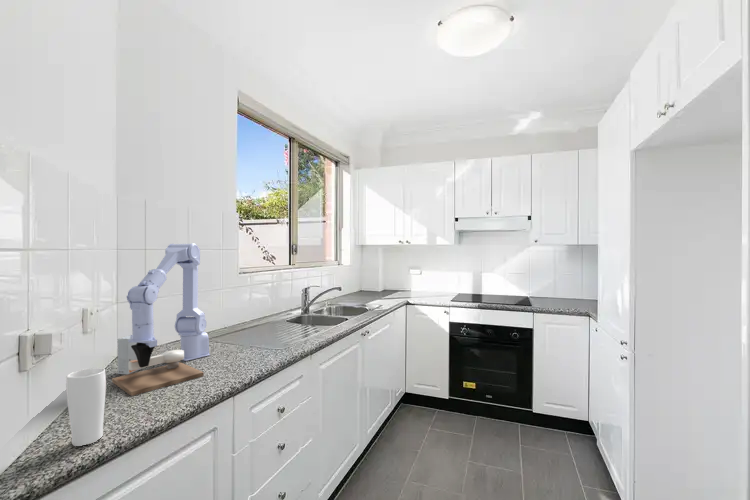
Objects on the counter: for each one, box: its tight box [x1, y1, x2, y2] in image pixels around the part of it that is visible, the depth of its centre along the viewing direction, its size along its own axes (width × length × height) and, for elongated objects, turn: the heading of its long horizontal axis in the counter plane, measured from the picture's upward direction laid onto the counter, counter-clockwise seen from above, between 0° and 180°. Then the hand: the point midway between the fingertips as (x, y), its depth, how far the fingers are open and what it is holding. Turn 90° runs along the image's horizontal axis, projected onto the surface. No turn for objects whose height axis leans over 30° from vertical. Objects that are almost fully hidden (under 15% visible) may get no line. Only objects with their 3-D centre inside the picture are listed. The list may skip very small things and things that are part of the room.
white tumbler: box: [65, 367, 107, 447], centre depth 79 cm, size 7×7×15 cm
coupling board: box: [111, 361, 205, 397], centre depth 118 cm, size 20×18×4 cm
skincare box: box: [117, 335, 143, 375], centre depth 125 cm, size 6×4×12 cm
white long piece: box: [129, 349, 184, 371], centre depth 122 cm, size 16×7×3 cm, turn 144°
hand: (143, 366), depth 116 cm, fingers closed
